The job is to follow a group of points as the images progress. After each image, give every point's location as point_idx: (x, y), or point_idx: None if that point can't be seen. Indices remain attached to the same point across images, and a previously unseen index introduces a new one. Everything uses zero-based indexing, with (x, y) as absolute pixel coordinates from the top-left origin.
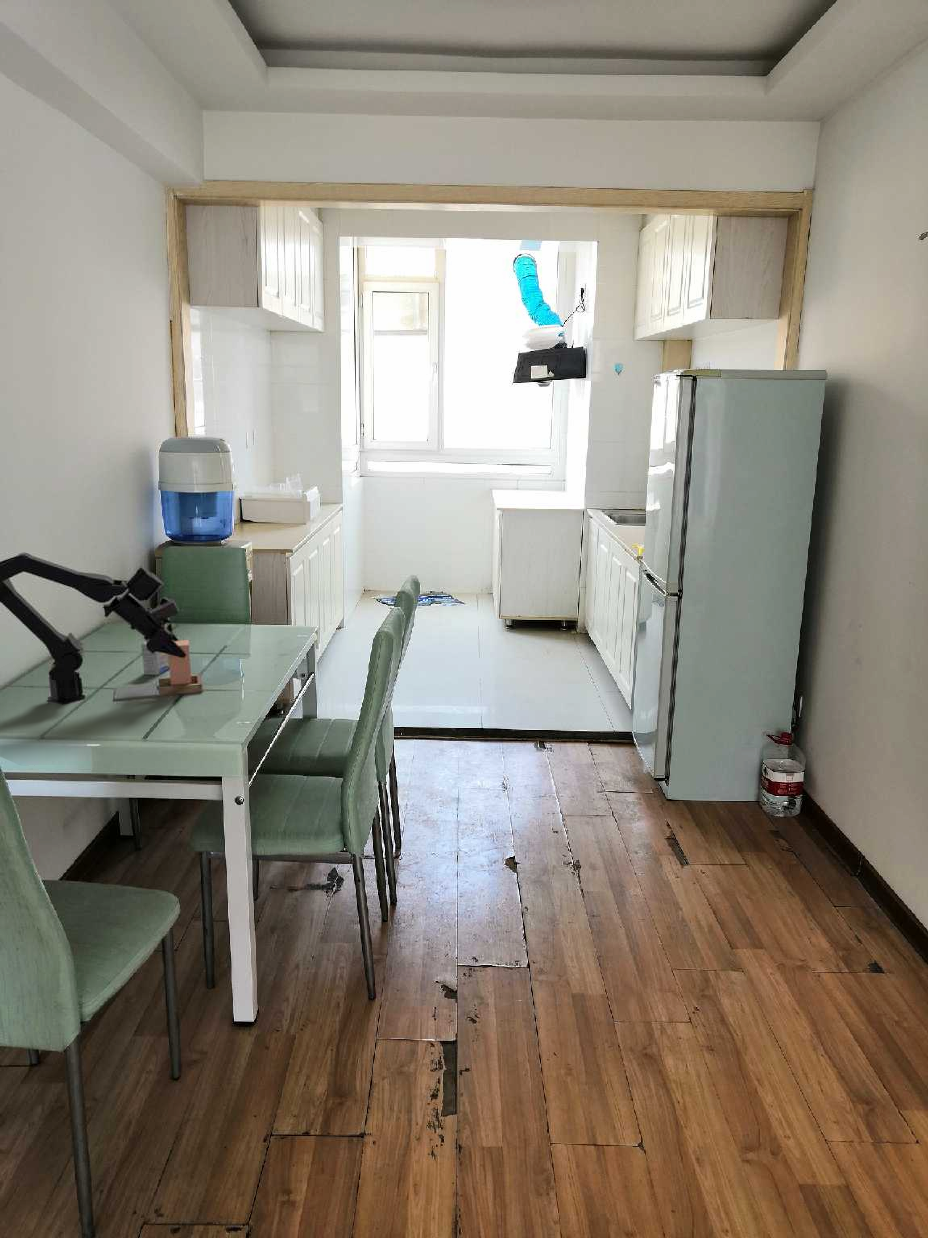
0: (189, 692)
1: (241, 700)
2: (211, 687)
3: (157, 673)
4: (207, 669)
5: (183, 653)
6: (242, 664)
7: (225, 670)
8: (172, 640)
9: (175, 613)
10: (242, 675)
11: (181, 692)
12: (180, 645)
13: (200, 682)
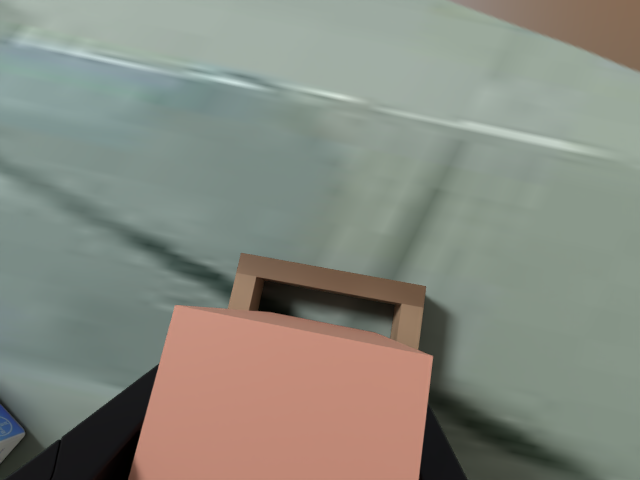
0: None
1: (614, 162)
2: (362, 237)
3: (16, 442)
4: (77, 194)
5: (431, 416)
6: (97, 50)
7: (140, 128)
8: None
9: None
10: (252, 83)
11: None
12: (411, 473)
13: (390, 287)
